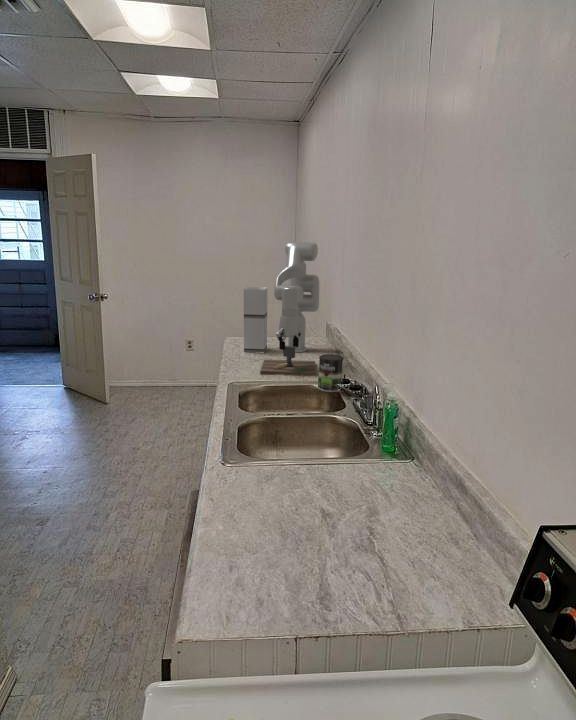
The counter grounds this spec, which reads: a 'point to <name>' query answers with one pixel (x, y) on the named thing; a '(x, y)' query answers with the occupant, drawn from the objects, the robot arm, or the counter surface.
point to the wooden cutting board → (289, 367)
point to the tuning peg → (288, 356)
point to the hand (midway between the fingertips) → (289, 348)
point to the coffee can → (330, 372)
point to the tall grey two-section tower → (255, 319)
